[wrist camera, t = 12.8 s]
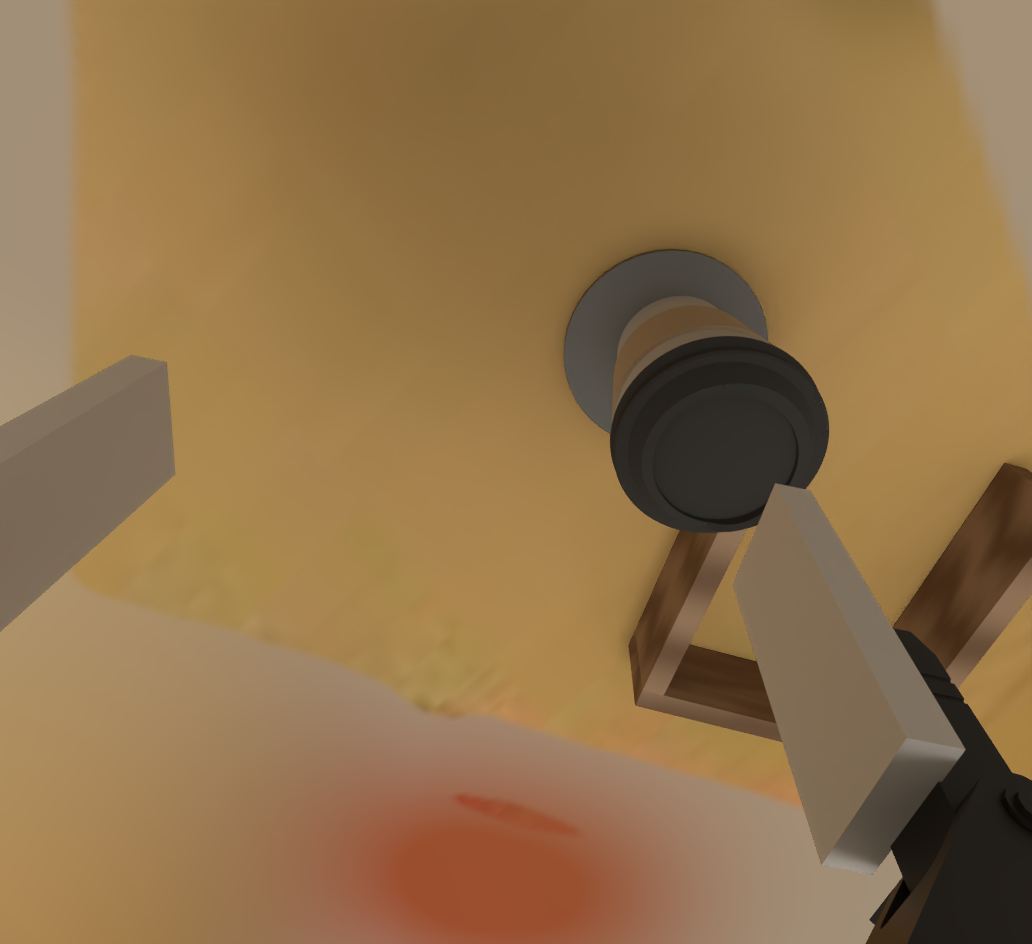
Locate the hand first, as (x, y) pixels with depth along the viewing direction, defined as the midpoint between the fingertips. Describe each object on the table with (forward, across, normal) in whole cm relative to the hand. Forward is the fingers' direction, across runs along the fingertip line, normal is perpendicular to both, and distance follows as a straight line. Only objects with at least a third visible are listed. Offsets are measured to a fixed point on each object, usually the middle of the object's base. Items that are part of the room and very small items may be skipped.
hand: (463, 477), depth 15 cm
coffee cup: (+27, +9, -4) cm, 29 cm away
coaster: (+28, +9, -4) cm, 29 cm away
